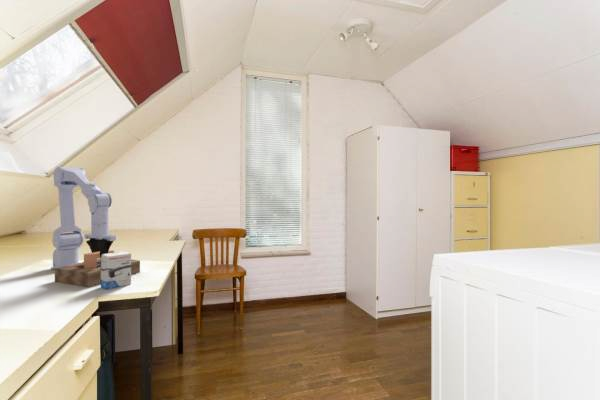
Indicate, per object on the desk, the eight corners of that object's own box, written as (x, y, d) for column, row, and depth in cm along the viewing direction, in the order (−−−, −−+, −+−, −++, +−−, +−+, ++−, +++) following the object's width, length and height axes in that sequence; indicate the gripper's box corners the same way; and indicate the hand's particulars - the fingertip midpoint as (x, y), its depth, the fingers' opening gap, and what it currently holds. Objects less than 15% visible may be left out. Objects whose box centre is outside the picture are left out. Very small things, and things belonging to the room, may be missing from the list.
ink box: (106, 289, 107) (106, 256, 107) (100, 287, 110) (100, 254, 110) (131, 284, 114) (131, 252, 114) (125, 281, 117) (125, 250, 116)
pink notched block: (83, 269, 118) (83, 254, 118) (107, 264, 128) (107, 249, 128) (90, 270, 117) (90, 254, 117) (113, 265, 127) (114, 250, 127)
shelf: (54, 281, 115) (54, 268, 115) (108, 268, 136) (108, 256, 136) (89, 287, 110) (89, 273, 109) (139, 272, 130) (139, 260, 130)
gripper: (76, 223, 121) (76, 258, 121) (103, 225, 116) (103, 261, 116) (94, 222, 128) (94, 254, 128) (120, 223, 123) (120, 257, 123)
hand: (99, 257), depth 123 cm, fingers closed on pink notched block, 3 cm apart
